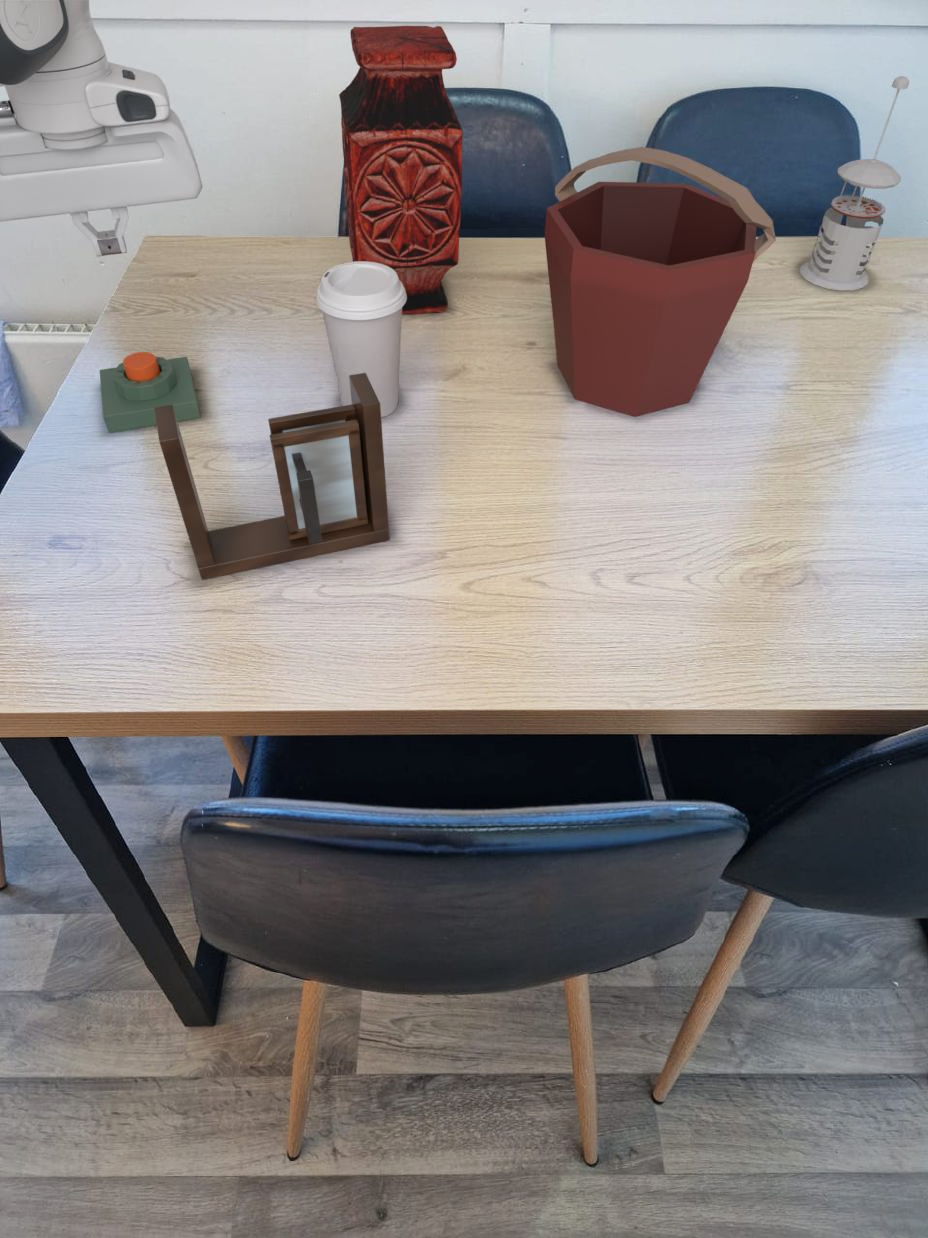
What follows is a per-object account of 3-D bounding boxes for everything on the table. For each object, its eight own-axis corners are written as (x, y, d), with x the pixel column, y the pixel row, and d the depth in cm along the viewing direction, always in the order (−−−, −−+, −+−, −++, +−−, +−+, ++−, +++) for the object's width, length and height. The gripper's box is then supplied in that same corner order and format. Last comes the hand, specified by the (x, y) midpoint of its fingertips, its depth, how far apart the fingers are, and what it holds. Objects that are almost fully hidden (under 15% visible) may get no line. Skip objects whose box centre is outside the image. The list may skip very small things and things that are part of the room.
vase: (461, 318, 111) (464, 53, 89) (357, 324, 109) (335, 56, 87) (446, 271, 120) (446, 20, 98) (351, 276, 119) (329, 22, 96)
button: (128, 384, 92) (123, 370, 91) (126, 368, 95) (121, 354, 93) (161, 379, 93) (157, 365, 92) (158, 363, 96) (154, 349, 94)
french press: (804, 287, 118) (869, 85, 100) (793, 252, 126) (852, 58, 108) (875, 292, 117) (954, 90, 99) (860, 256, 125) (931, 62, 107)
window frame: (201, 580, 77) (159, 441, 66) (195, 545, 80) (153, 407, 69) (389, 540, 81) (380, 402, 70) (376, 508, 84) (365, 372, 73)
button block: (109, 433, 92) (98, 402, 89) (105, 386, 99) (94, 355, 96) (200, 417, 95) (193, 386, 92) (191, 372, 101) (183, 342, 98)
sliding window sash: (299, 573, 75) (280, 472, 67) (288, 535, 79) (269, 434, 70) (380, 555, 77) (372, 454, 69) (366, 519, 80) (357, 419, 72)
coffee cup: (364, 372, 101) (354, 249, 90) (427, 398, 98) (424, 273, 87) (311, 408, 96) (293, 282, 85) (375, 437, 93) (365, 309, 81)
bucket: (763, 394, 100) (835, 170, 81) (632, 460, 90) (679, 225, 72) (619, 312, 113) (653, 103, 94) (491, 363, 103) (501, 142, 85)
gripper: (-69, 119, 69) (-1, 281, 79) (184, 96, 73) (217, 252, 84) (-62, 95, 73) (2, 252, 83) (177, 74, 77) (210, 226, 88)
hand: (112, 252), depth 83 cm, fingers closed
